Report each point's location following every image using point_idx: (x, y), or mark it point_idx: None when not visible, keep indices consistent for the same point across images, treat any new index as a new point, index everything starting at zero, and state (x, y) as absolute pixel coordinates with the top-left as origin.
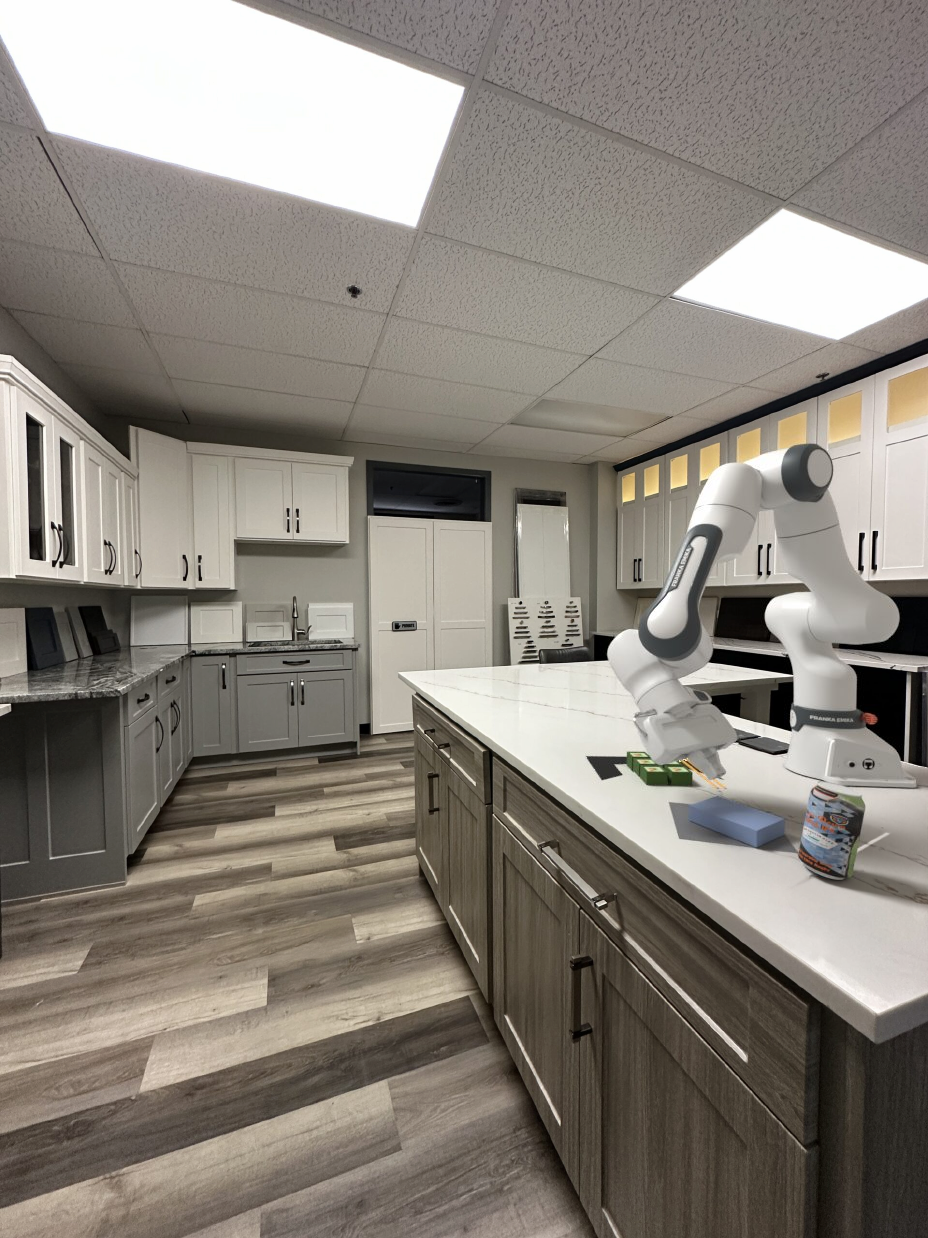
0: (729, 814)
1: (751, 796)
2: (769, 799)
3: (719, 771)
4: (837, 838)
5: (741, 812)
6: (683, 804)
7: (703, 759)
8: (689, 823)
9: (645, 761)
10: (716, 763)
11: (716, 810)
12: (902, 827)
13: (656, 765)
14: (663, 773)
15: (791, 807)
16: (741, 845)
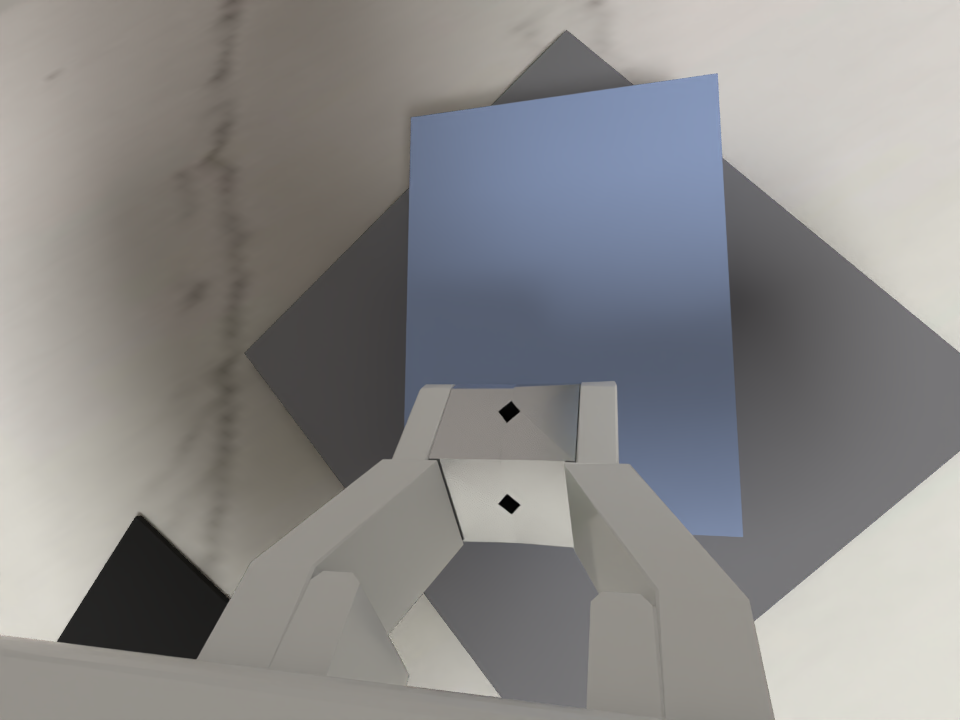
0: (630, 294)
1: (99, 527)
2: (76, 455)
3: (527, 392)
4: None
5: (535, 276)
6: (516, 689)
7: (684, 549)
8: (747, 496)
9: None
10: (432, 483)
11: (647, 375)
12: (6, 49)
13: None
14: None
15: (97, 348)
16: (741, 180)
